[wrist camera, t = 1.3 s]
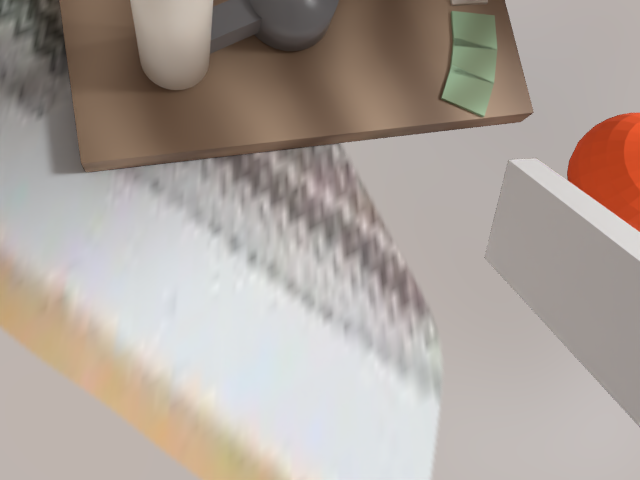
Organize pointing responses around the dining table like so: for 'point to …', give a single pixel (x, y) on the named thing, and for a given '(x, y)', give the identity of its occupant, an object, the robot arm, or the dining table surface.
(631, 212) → the clementine
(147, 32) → the knobbed stick and post
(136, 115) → the brown wooden board
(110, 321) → the dining table surface
